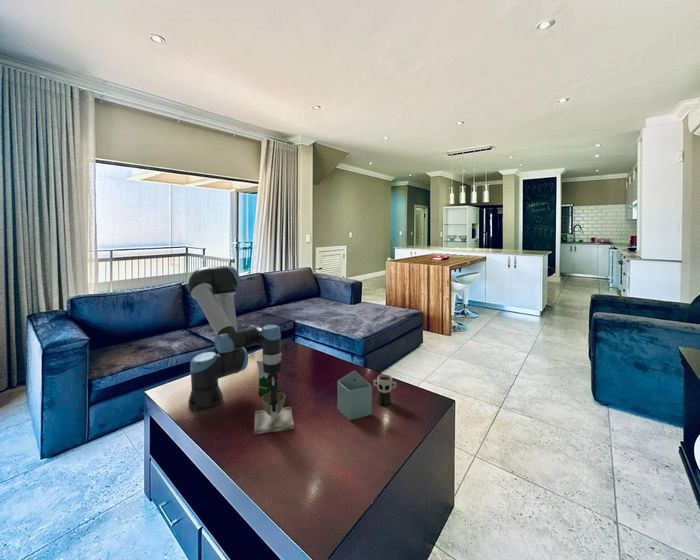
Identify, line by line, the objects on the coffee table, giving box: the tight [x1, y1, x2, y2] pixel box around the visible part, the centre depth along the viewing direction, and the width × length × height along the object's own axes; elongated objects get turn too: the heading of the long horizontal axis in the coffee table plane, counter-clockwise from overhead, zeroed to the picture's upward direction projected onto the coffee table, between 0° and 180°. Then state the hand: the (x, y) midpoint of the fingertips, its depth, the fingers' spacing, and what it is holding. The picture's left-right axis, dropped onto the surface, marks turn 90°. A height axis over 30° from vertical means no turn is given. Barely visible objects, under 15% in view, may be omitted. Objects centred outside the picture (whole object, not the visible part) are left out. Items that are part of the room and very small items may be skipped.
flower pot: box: [261, 391, 286, 416], centre depth 143 cm, size 10×10×7 cm
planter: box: [337, 370, 373, 421], centre depth 147 cm, size 16×8×20 cm, turn 73°
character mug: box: [372, 373, 397, 406], centre depth 159 cm, size 11×7×13 cm, turn 77°
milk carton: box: [256, 356, 279, 396], centre depth 168 cm, size 9×9×20 cm
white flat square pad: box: [253, 406, 295, 435], centre depth 144 cm, size 16×16×1 cm
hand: (273, 411), depth 143 cm, fingers closed on flower pot, 10 cm apart
